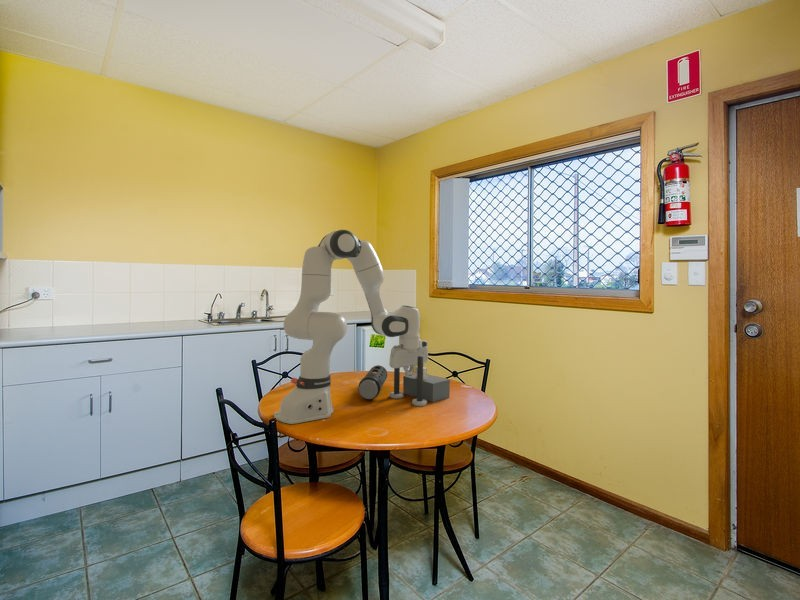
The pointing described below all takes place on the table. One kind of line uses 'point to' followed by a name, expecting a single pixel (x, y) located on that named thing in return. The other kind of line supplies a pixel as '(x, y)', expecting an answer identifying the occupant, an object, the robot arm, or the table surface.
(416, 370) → the breaker switch
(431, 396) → the box
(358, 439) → the table surface
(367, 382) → the muzzle brake
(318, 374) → the robot arm
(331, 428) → the table surface
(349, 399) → the table surface
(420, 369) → the right cord post
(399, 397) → the post
